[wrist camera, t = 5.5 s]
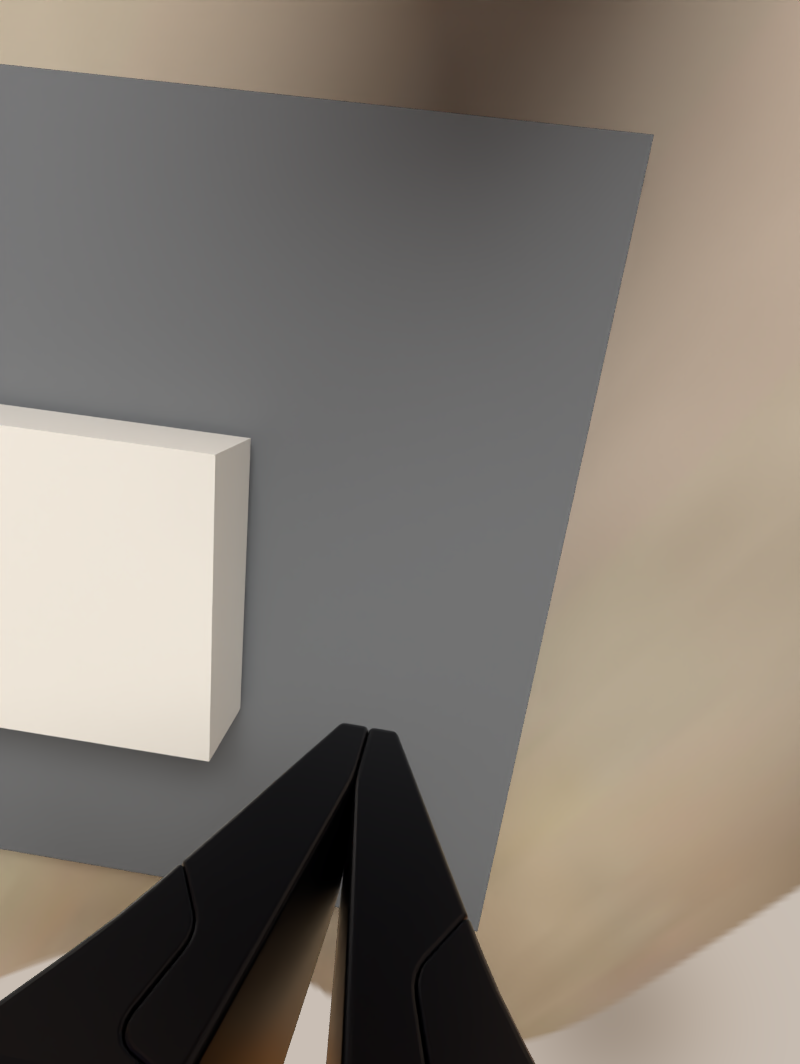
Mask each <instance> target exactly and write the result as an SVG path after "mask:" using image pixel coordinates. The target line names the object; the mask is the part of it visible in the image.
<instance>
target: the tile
mask: <svg viewBox="0 0 800 1064" xmlns="http://www.w3.org/2000/svg"><path fill="white" fill-rule="evenodd" d="M250 446H251V438H245V437H238V436H231V435H223V434H216V433H209V432H201V431H194V430H187V429H179V428H172V427H165V426H157V425H150V424H143V423H135V422H128V421H121V420H113V419H106V418H99V417H91V416H84V415H77V414H69V413H62V412H55V411H47V410H40V409H33V408H25V407H18V406H11V405H3V404H0V728H6V729H12V730H18V731H24V732H31V733H37V734H43V735H49V736H55V737H61V738H67V739H73V740H80V741H86V742H92V743H98V744H104V745H110V746H116V747H122V748H129V749H135V750H141V751H147V752H153V753H159V754H165V755H171V756H178V757H184V758H190V759H196V760H202V761H208V762H209V761H210V760H211V758H212V756H213V754H214V753H215V751H216V749H217V748H218V746H219V744H220V742H221V741H222V739H223V737H224V736H225V734H226V732H227V731H228V729H229V727H230V725H231V724H232V722H233V720H234V719H235V717H236V715H237V713H238V712H239V710H240V702H241V677H242V651H243V625H244V600H245V574H246V548H247V523H248V497H249V472H250Z"/></svg>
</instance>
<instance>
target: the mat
mask: <svg viewBox="0 0 800 1064" xmlns="http://www.w3.org/2000/svg"><path fill="white" fill-rule="evenodd" d="M653 136H654V135H652V134H643V133H633V132H624V131H615V130H606V129H596V128H587V127H578V126H569V125H559V124H550V123H541V122H532V121H522V120H513V119H504V118H495V117H485V116H476V115H467V114H458V113H448V112H439V111H430V110H421V109H411V108H402V107H393V106H384V105H374V104H365V103H356V102H347V101H337V100H328V99H319V98H310V97H300V96H291V95H282V94H273V93H263V92H254V91H245V90H236V89H226V88H217V87H208V86H199V85H189V84H180V83H171V82H162V81H152V80H143V79H134V78H125V77H115V76H106V75H97V74H88V73H78V72H69V71H60V70H51V69H41V68H32V67H23V66H14V65H4V64H0V404H3V405H11V406H18V407H25V408H33V409H40V410H47V411H55V412H62V413H69V414H77V415H84V416H91V417H99V418H106V419H113V420H121V421H128V422H135V423H143V424H150V425H157V426H165V427H172V428H179V429H187V430H194V431H201V432H209V433H216V434H223V435H231V436H238V437H245V438H251V446H250V472H249V497H248V523H247V548H246V574H245V600H244V625H243V651H242V677H241V702H240V710H239V712H238V713H237V715H236V717H235V719H234V720H233V722H232V724H231V725H230V727H229V729H228V731H227V732H226V734H225V736H224V737H223V739H222V741H221V742H220V744H219V746H218V748H217V749H216V751H215V753H214V754H213V756H212V758H211V760H210V761H209V762H208V761H202V760H196V759H190V758H184V757H178V756H171V755H165V754H159V753H153V752H147V751H141V750H135V749H129V748H122V747H116V746H110V745H104V744H98V743H92V742H86V741H80V740H73V739H67V738H61V737H55V736H49V735H43V734H37V733H31V732H24V731H18V730H12V729H6V728H0V849H4V850H10V851H16V852H21V853H27V854H33V855H39V856H45V857H50V858H56V859H62V860H68V861H73V862H79V863H85V864H91V865H96V866H102V867H108V868H114V869H120V870H125V871H131V872H137V873H143V874H148V875H154V876H160V877H164V876H165V875H167V874H168V873H169V872H170V871H171V870H172V869H173V868H175V867H176V866H177V865H179V864H180V865H182V862H183V860H184V859H185V858H187V857H188V856H189V855H190V854H191V853H192V852H193V851H195V850H196V849H197V848H198V847H199V846H200V845H201V844H203V843H204V842H205V841H206V840H207V839H208V838H210V837H211V836H212V835H213V834H214V833H215V832H216V831H218V830H219V829H220V828H221V827H222V826H223V825H225V824H226V823H227V822H228V821H229V820H230V819H231V818H233V817H234V816H235V815H236V814H237V813H238V812H239V811H241V810H242V809H243V808H244V807H245V806H246V805H248V804H249V803H250V802H251V801H252V800H253V799H254V798H256V797H257V796H258V795H259V794H260V793H261V792H263V791H264V790H265V789H266V788H267V787H268V786H269V785H271V784H272V783H273V782H274V781H275V780H276V779H277V778H279V777H280V776H281V775H282V774H283V773H284V772H286V771H287V770H288V769H289V768H290V767H291V766H292V765H294V764H295V763H296V762H297V761H298V760H299V759H300V758H302V757H303V756H304V755H305V754H306V753H307V752H309V751H310V750H311V749H312V748H313V747H314V746H315V745H317V744H318V743H319V742H320V741H321V740H322V739H324V738H325V737H326V736H327V735H328V734H329V733H330V732H332V731H333V730H334V729H335V728H336V727H337V726H338V725H340V724H342V723H349V724H355V725H361V726H365V727H367V728H368V732H369V730H370V729H372V728H378V729H384V730H390V731H394V732H396V733H397V735H398V737H399V739H400V742H401V744H402V747H403V749H404V752H405V754H406V757H407V760H408V762H409V765H410V767H411V770H412V773H413V775H414V778H415V780H416V783H417V785H418V788H419V791H420V793H421V796H422V798H423V801H424V804H425V806H426V809H427V811H428V814H429V816H430V819H431V822H432V824H433V827H434V829H435V832H436V834H437V837H438V840H439V842H440V845H441V847H442V850H443V853H444V855H445V858H446V860H447V863H448V865H449V868H450V871H451V873H452V876H453V878H454V881H455V883H456V886H457V889H458V891H459V894H460V896H461V899H462V902H463V904H464V907H465V909H466V912H467V915H468V920H470V922H471V924H472V927H473V929H474V931H477V930H478V926H479V921H480V917H481V912H482V908H483V903H484V899H485V894H486V890H487V885H488V881H489V876H490V872H491V867H492V863H493V858H494V854H495V849H496V845H497V840H498V836H499V831H500V827H501V822H502V818H503V813H504V809H505V804H506V800H507V795H508V791H509V786H510V782H511V777H512V772H513V768H514V763H515V759H516V754H517V750H518V745H519V741H520V736H521V732H522V727H523V723H524V718H525V714H526V709H527V705H528V700H529V696H530V691H531V687H532V682H533V678H534V673H535V669H536V664H537V660H538V655H539V651H540V646H541V642H542V637H543V633H544V628H545V624H546V619H547V615H548V610H549V606H550V601H551V596H552V592H553V587H554V583H555V578H556V574H557V569H558V565H559V560H560V556H561V551H562V547H563V542H564V538H565V533H566V529H567V524H568V520H569V515H570V511H571V506H572V502H573V497H574V493H575V488H576V484H577V479H578V475H579V470H580V466H581V461H582V457H583V452H584V448H585V443H586V439H587V434H588V430H589V425H590V421H591V416H592V411H593V407H594V402H595V398H596V393H597V389H598V384H599V380H600V375H601V371H602V366H603V362H604V357H605V353H606V348H607V344H608V339H609V335H610V330H611V326H612V321H613V317H614V312H615V308H616V303H617V299H618V294H619V290H620V285H621V281H622V276H623V272H624V267H625V263H626V258H627V254H628V249H629V245H630V240H631V236H632V231H633V226H634V222H635V217H636V213H637V208H638V204H639V199H640V195H641V190H642V186H643V181H644V177H645V172H646V168H647V163H648V159H649V154H650V150H651V145H652V141H653ZM342 880H343V878H342ZM341 888H342V882H341V887H340V890H339V894H338V897H337V900H336V904H335V907H339V906H340V897H341Z"/></svg>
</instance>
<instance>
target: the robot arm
mask: <svg viewBox="0 0 800 1064" xmlns="http://www.w3.org/2000/svg"><path fill="white" fill-rule="evenodd" d="M342 878H343V880H342ZM341 882H342V888H341V897H340V906H339V917H338V929H337V941H336V953H335V965H334V977H333V989H332V1001H331V1013H330V1025H329V1037H328V1049H327V1061H326V1064H535V1063H534V1060H533V1058H532V1057H531V1055H530V1053H529V1051H528V1049H527V1047H526V1045H525V1043H524V1041H523V1039H522V1037H521V1035H520V1033H519V1031H518V1029H517V1027H516V1025H515V1023H514V1021H513V1019H512V1017H511V1015H510V1013H509V1011H508V1009H507V1007H506V1005H505V1003H504V1000H503V998H502V996H501V994H500V992H499V990H498V987H497V985H496V983H495V980H494V978H493V976H492V973H491V971H490V969H489V966H488V964H487V962H486V959H485V957H484V954H483V952H482V950H481V947H480V945H479V942H478V939H477V937H476V934H475V932H474V929H473V927H472V924H471V922H470V920H468V915H467V912H466V909H465V907H464V904H463V902H462V899H461V896H460V894H459V891H458V889H457V886H456V883H455V881H454V878H453V876H452V873H451V871H450V868H449V865H448V863H447V860H446V858H445V855H444V853H443V850H442V847H441V845H440V842H439V840H438V837H437V834H436V832H435V829H434V827H433V824H432V822H431V819H430V816H429V814H428V811H427V809H426V806H425V804H424V801H423V798H422V796H421V793H420V791H419V788H418V785H417V783H416V780H415V778H414V775H413V773H412V770H411V767H410V765H409V762H408V760H407V757H406V754H405V752H404V749H403V747H402V744H401V742H400V739H399V737H398V735H397V733H396V732H394V731H390V730H384V729H378V728H372V729H370V730H369V732H368V728H367V727H365V726H361V725H355V724H349V723H342V724H340V725H338V726H337V727H336V728H335V729H334V730H333V731H332V732H330V733H329V734H328V735H327V736H326V737H325V738H324V739H322V740H321V741H320V742H319V743H318V744H317V745H315V746H314V747H313V748H312V749H311V750H310V751H309V752H307V753H306V754H305V755H304V756H303V757H302V758H300V759H299V760H298V761H297V762H296V763H295V764H294V765H292V766H291V767H290V768H289V769H288V770H287V771H286V772H284V773H283V774H282V775H281V776H280V777H279V778H277V779H276V780H275V781H274V782H273V783H272V784H271V785H269V786H268V787H267V788H266V789H265V790H264V791H263V792H261V793H260V794H259V795H258V796H257V797H256V798H254V799H253V800H252V801H251V802H250V803H249V804H248V805H246V806H245V807H244V808H243V809H242V810H241V811H239V812H238V813H237V814H236V815H235V816H234V817H233V818H231V819H230V820H229V821H228V822H227V823H226V824H225V825H223V826H222V827H221V828H220V829H219V830H218V831H216V832H215V833H214V834H213V835H212V836H211V837H210V838H208V839H207V840H206V841H205V842H204V843H203V844H201V845H200V846H199V847H198V848H197V849H196V850H195V851H193V852H192V853H191V854H190V855H189V856H188V857H187V858H185V859H184V860H183V862H182V865H180V864H179V865H177V866H176V867H175V868H173V869H172V870H171V871H170V872H169V873H168V874H167V875H165V876H164V877H163V878H162V879H161V880H160V881H159V882H157V883H156V884H155V885H154V886H153V887H151V888H150V889H149V890H148V891H147V892H145V893H144V894H143V895H142V896H140V897H139V898H138V899H137V900H136V901H134V902H133V903H132V904H131V905H130V906H128V907H127V908H126V909H125V910H123V911H122V912H121V913H120V914H119V915H117V916H116V917H115V918H113V919H112V920H111V921H109V922H108V923H107V924H105V925H104V926H103V927H101V928H100V929H99V930H97V931H96V932H95V933H93V934H92V935H91V936H89V937H88V938H87V939H85V940H84V941H83V942H81V943H80V944H79V945H77V946H76V947H75V948H73V949H72V950H71V951H69V952H68V953H66V954H65V955H64V956H62V957H61V958H59V959H58V960H57V961H55V962H54V963H53V964H51V965H50V966H49V967H47V968H46V969H44V970H43V971H41V972H40V973H39V974H37V975H36V976H34V977H33V978H32V979H30V980H29V981H27V982H26V983H25V984H23V985H22V986H20V987H19V988H18V989H16V990H15V991H13V992H12V993H11V994H9V995H8V996H7V997H5V998H4V999H2V1000H1V1001H0V1064H284V1061H285V1057H286V1054H287V1051H288V1048H289V1045H290V1042H291V1039H292V1036H293V1033H294V1030H295V1027H296V1024H297V1021H298V1018H299V1015H300V1012H301V1008H302V1005H303V1002H304V999H305V996H306V993H307V990H308V987H309V984H310V981H311V978H312V975H313V972H314V969H315V965H316V962H317V959H318V956H319V953H320V950H321V947H322V944H323V941H324V938H325V935H326V932H327V929H328V926H329V923H330V919H331V916H332V913H333V910H334V907H335V904H336V900H337V897H338V894H339V890H340V887H341Z"/></svg>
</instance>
